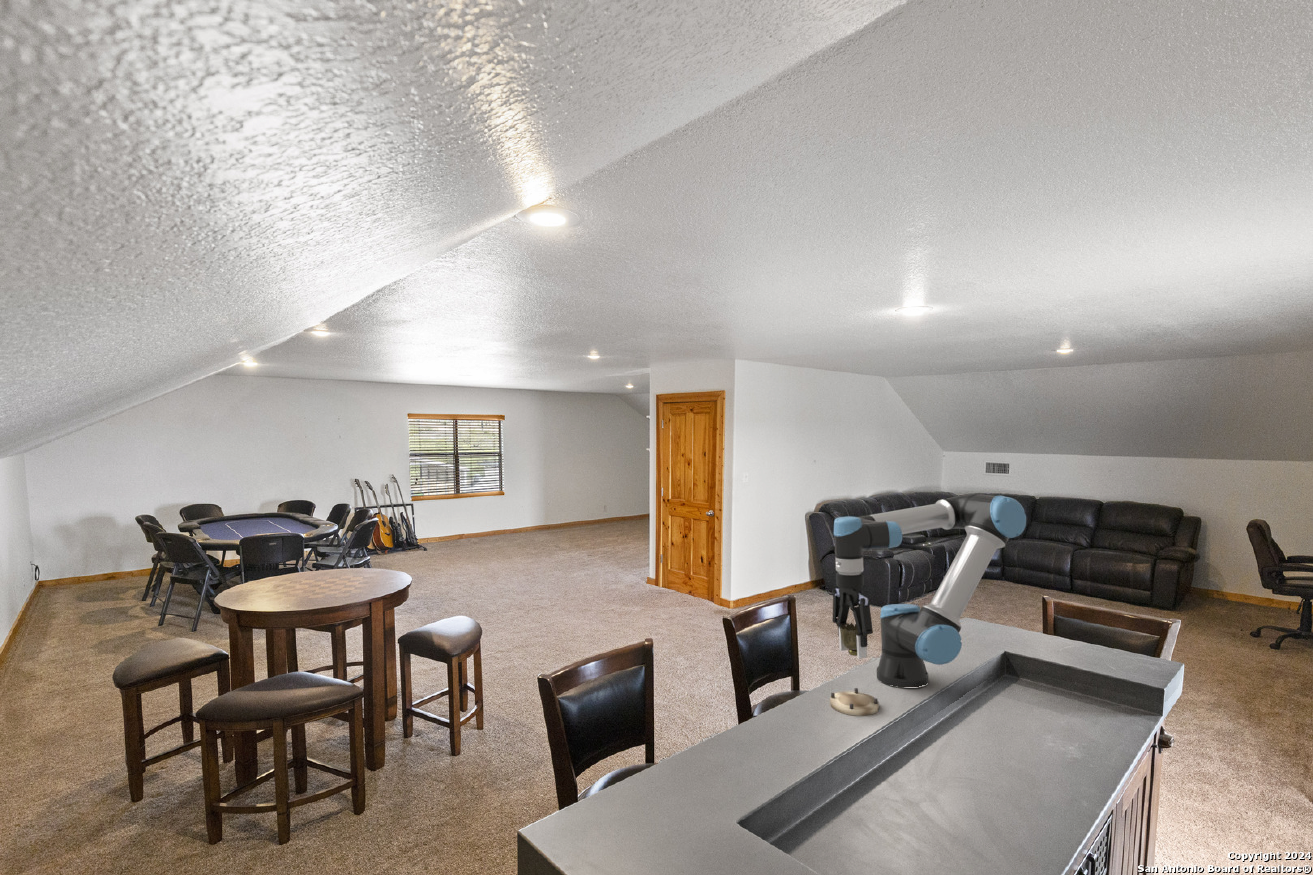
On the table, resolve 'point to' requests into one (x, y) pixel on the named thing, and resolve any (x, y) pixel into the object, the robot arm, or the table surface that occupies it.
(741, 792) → the table surface
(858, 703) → the seat plate
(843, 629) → the ornate scalloped bell shade
